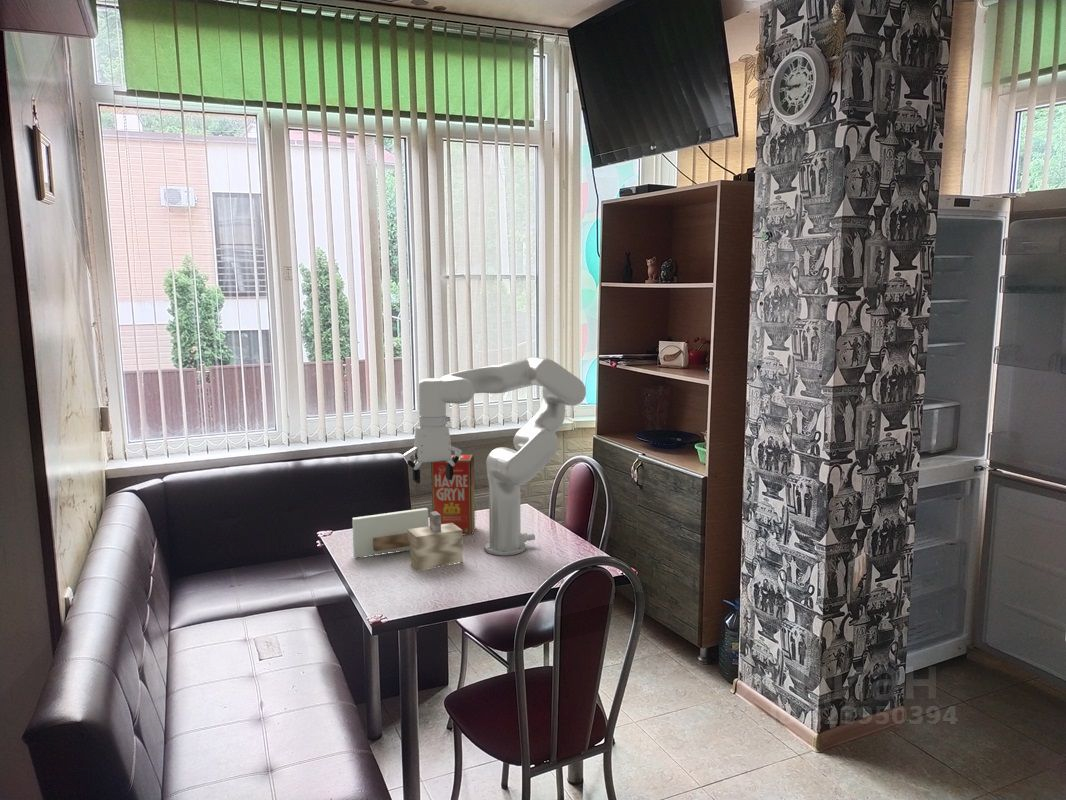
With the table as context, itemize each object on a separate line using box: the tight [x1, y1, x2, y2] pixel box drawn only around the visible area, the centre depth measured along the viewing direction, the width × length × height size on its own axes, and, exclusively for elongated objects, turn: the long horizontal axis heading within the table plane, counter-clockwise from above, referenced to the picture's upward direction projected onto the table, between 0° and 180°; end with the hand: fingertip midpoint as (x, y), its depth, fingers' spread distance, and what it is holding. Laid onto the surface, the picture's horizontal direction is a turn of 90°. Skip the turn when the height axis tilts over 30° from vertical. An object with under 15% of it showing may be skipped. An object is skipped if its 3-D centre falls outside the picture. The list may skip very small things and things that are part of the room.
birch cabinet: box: [407, 511, 464, 572], centre depth 220 cm, size 14×8×15 cm, turn 117°
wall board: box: [351, 507, 430, 559], centre depth 230 cm, size 23×2×12 cm, turn 117°
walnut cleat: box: [373, 533, 410, 551], centre depth 228 cm, size 12×2×4 cm, turn 117°
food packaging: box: [430, 454, 476, 535], centre depth 250 cm, size 13×9×25 cm
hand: (433, 480), depth 217 cm, fingers open, 9 cm apart
